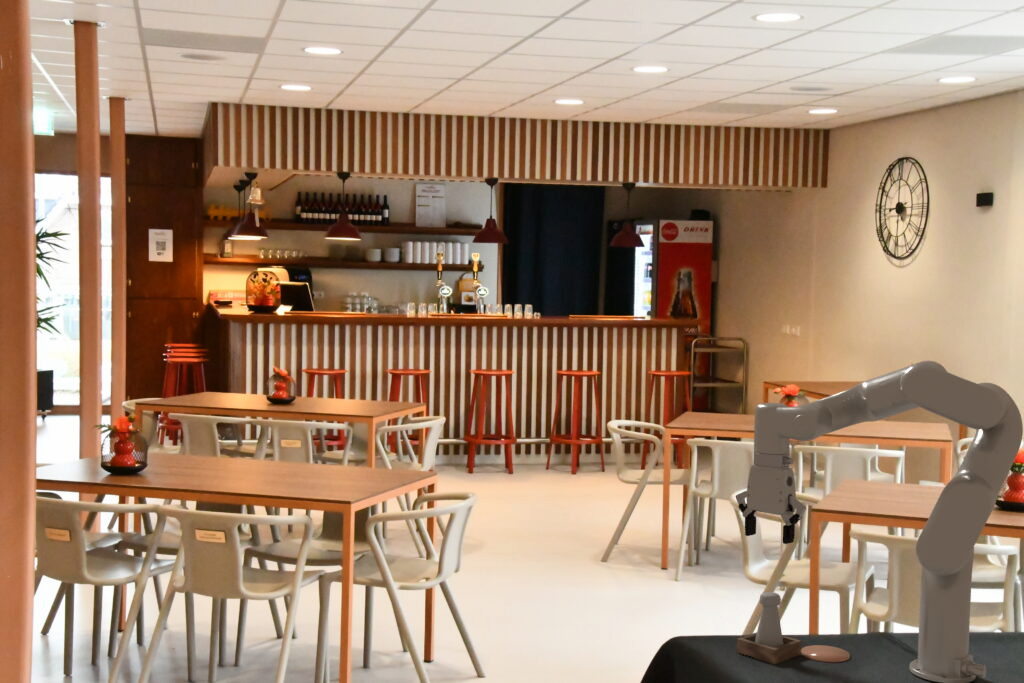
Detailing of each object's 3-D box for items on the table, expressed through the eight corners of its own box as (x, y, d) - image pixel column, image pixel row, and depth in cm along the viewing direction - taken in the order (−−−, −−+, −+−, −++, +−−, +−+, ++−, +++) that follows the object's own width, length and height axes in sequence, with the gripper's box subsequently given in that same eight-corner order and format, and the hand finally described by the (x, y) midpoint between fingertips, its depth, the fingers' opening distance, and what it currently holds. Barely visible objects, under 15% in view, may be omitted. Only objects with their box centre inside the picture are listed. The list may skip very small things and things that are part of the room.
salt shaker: (760, 647, 245) (761, 588, 245) (786, 652, 242) (788, 592, 242) (751, 655, 240) (752, 594, 240) (777, 659, 237) (779, 598, 237)
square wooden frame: (801, 654, 241) (801, 640, 241) (774, 664, 235) (774, 649, 234) (763, 643, 248) (763, 630, 248) (736, 652, 242) (736, 638, 242)
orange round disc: (859, 655, 241) (859, 653, 241) (833, 665, 234) (833, 663, 234) (818, 644, 248) (818, 642, 248) (791, 653, 242) (791, 651, 242)
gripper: (815, 463, 242) (813, 543, 242) (748, 454, 254) (746, 529, 255) (795, 467, 236) (793, 548, 237) (727, 457, 249) (725, 534, 250)
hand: (769, 538), depth 246 cm, fingers open, 9 cm apart
